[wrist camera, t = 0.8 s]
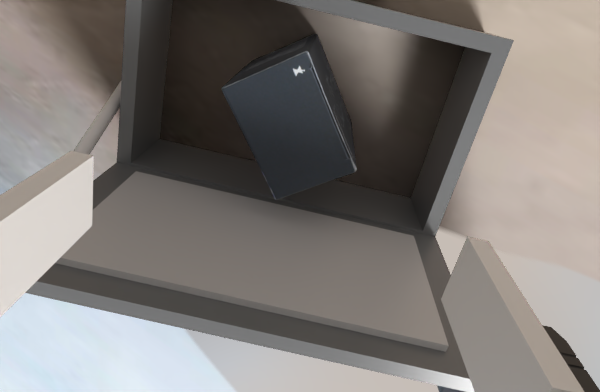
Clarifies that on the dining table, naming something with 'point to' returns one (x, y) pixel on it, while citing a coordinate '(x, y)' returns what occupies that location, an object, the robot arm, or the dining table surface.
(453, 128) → the case
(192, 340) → the dining table surface
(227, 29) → the dining table surface
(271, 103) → the box
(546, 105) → the dining table surface
